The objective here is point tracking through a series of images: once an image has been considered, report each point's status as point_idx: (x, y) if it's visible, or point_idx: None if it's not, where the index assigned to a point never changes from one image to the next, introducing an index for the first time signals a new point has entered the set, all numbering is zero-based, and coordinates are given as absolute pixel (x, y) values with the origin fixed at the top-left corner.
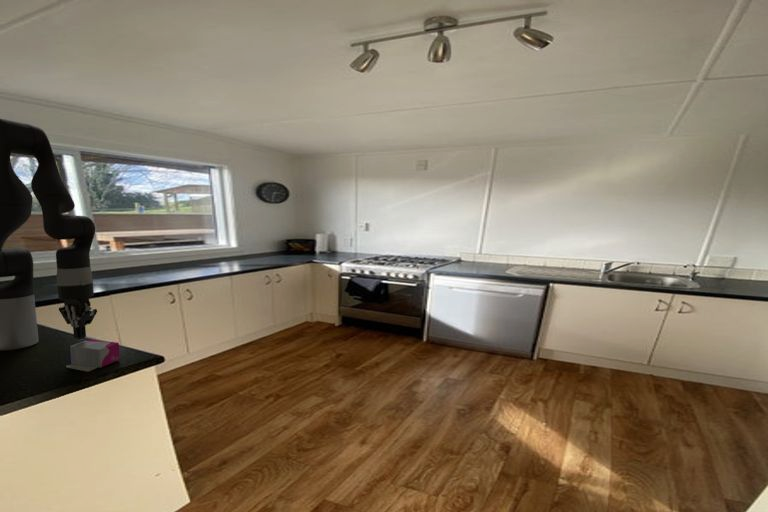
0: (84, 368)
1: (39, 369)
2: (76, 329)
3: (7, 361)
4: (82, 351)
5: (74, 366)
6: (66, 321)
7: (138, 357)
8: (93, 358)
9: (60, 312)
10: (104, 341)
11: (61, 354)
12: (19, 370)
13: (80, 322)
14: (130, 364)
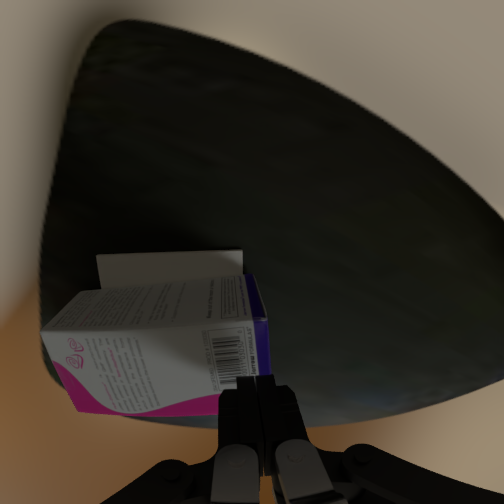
0: (133, 265)
1: (333, 196)
2: (240, 430)
3: (494, 211)
4: (150, 315)
5: (200, 263)
6: (383, 458)
7: None
8: (93, 304)
9: (480, 489)
10: (150, 412)
11: (405, 316)
12: (397, 166)
13: (162, 490)
14: None
